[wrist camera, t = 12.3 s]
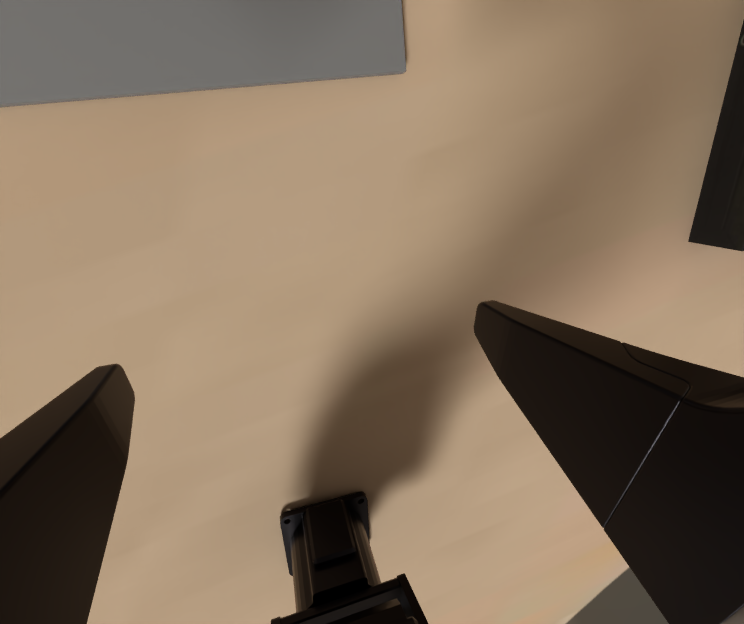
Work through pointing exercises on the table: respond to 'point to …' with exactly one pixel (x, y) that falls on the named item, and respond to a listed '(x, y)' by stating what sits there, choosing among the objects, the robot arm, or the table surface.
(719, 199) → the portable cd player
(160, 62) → the rubber mat
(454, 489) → the table surface
